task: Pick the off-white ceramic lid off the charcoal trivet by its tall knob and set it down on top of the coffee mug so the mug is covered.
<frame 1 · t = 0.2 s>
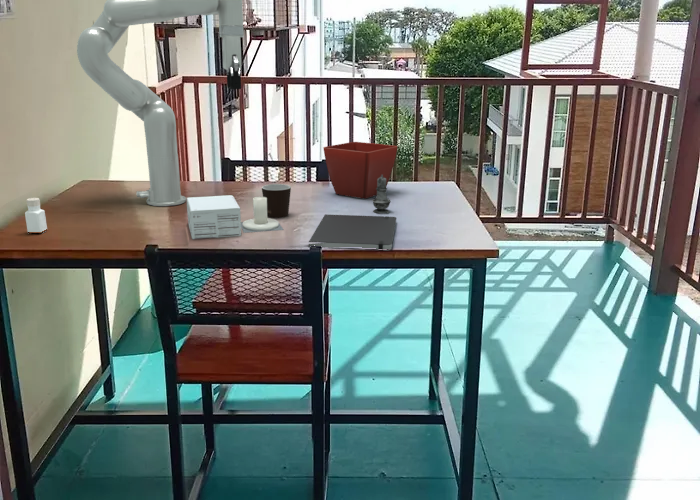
hand: (234, 88, 209), 37 cm above the table, tool pointing down, fingers open, 9 cm apart
trivet: (261, 231, 182), on the table
grey stone figurine: (381, 212, 204), on the table
plant pot: (360, 194, 228), on the table
notebook: (355, 236, 180), on the table
lid: (260, 226, 181), point 1 cm above the table, touching trivet
supplement box: (214, 235, 179), on the table
salt shaker 2: (37, 233, 179), on the table
coffee mug: (277, 219, 195), on the table
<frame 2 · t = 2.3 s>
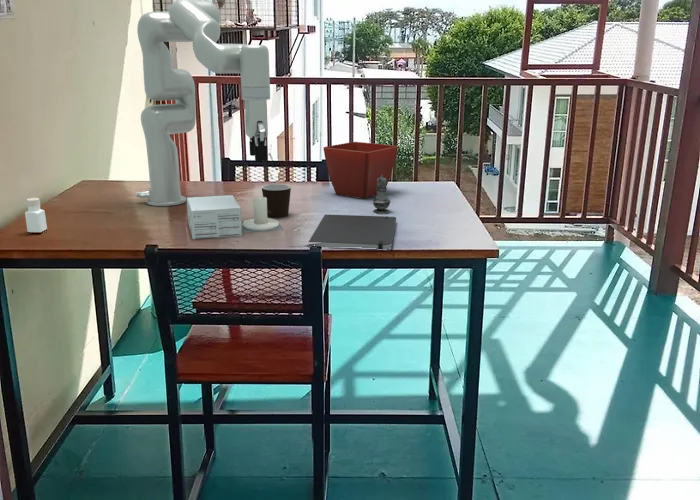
hand: (258, 158, 176), 21 cm above the table, tool pointing down, fingers open, 9 cm apart
nothing on the table moved.
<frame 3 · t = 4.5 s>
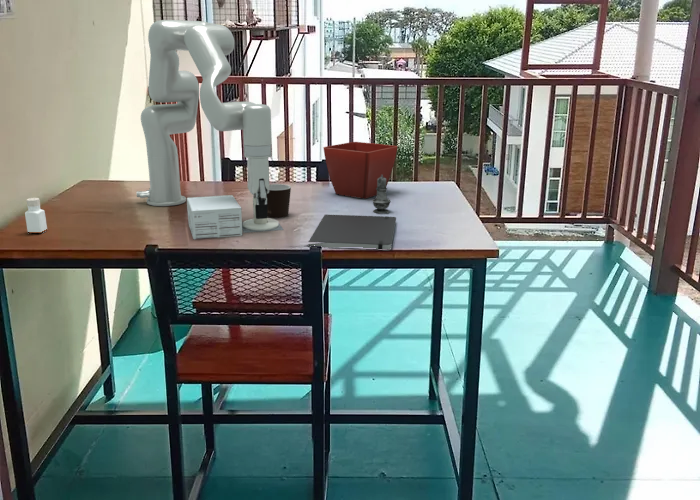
hand: (260, 215, 180), 4 cm above the table, tool pointing down, fingers closed on lid, 3 cm apart
lid: (260, 225, 181), point 2 cm above the table, touching gripper, trivet
everything else where it was.
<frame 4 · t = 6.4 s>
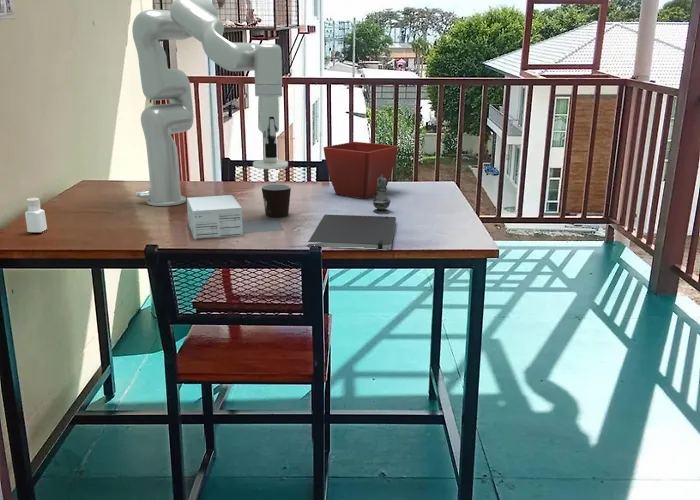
hand: (270, 155, 185), 20 cm above the table, tool pointing down, fingers closed on lid, 3 cm apart
lid: (270, 165, 186), point 17 cm above the table, touching gripper
everything else where it was.
when the fingers open (14 cm above the table, at t = 8.1 s): lid drops 1 cm, resting on coffee mug.
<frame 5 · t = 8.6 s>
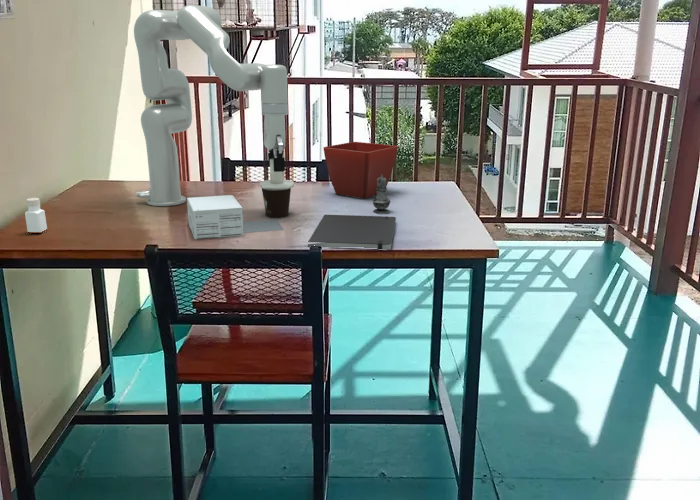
hand: (276, 168, 190), 15 cm above the table, tool pointing down, fingers open, 9 cm apart
lid: (276, 186, 192), point 10 cm above the table, touching coffee mug
coffee mug: (277, 219, 195), on the table, touching lid
everything else where it was.
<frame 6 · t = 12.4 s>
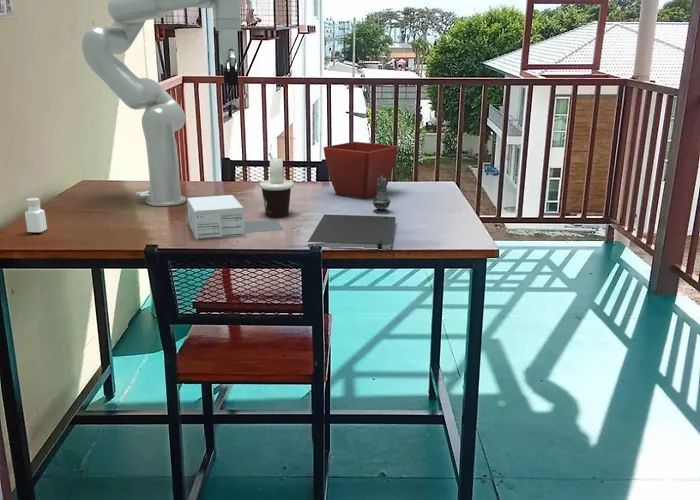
hand: (231, 84, 199), 38 cm above the table, tool pointing down, fingers open, 9 cm apart
nothing on the table moved.
at the end: lid inside the target area on the coffee mug (0.0 cm from its centre), point 10.2 cm above the coffee mug's base; lid tilted 0°; the gripper is holding nothing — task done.
